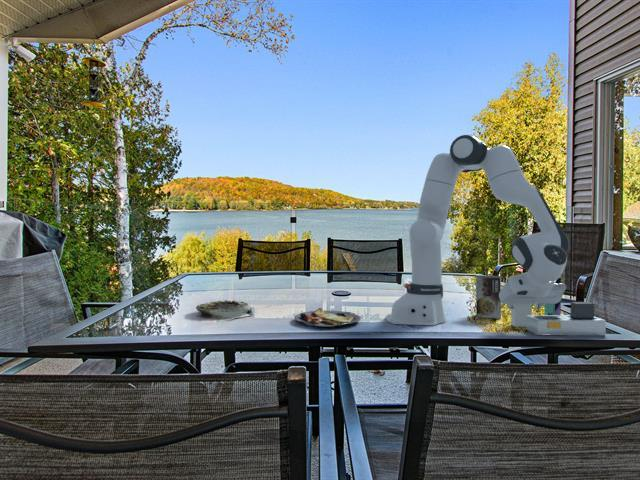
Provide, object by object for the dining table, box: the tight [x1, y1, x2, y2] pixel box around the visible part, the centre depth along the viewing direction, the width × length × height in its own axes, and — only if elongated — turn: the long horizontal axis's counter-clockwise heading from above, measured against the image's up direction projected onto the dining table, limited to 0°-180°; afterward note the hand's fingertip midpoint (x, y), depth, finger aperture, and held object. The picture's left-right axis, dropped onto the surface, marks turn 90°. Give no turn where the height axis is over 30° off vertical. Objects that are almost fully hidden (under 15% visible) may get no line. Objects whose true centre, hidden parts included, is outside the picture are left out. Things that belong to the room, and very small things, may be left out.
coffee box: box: [475, 274, 502, 320], centre depth 167 cm, size 9×6×16 cm
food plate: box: [293, 307, 362, 328], centre depth 161 cm, size 25×23×4 cm
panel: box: [510, 304, 533, 328], centre depth 152 cm, size 6×3×9 cm, turn 89°
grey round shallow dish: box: [195, 299, 254, 322], centre depth 176 cm, size 28×27×5 cm
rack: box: [525, 301, 607, 336], centre depth 142 cm, size 22×8×10 cm, turn 89°
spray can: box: [543, 275, 562, 315], centre depth 161 cm, size 6×6×20 cm
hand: (523, 307), depth 151 cm, fingers open, 8 cm apart
